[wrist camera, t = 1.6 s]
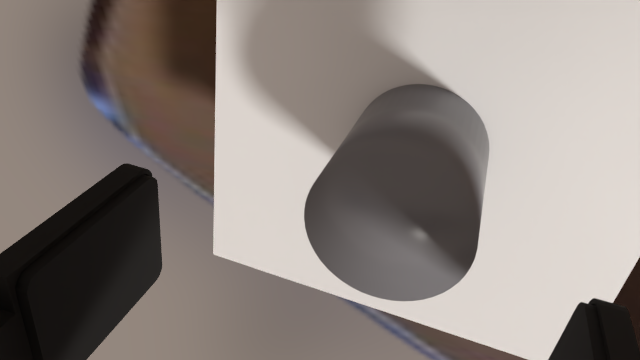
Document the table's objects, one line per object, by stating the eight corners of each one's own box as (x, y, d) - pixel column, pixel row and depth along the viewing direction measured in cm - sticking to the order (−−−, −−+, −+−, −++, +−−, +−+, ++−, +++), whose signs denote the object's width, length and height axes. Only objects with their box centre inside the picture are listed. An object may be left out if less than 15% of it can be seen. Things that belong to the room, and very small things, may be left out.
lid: (805, -65, 12) (992, -29, 7) (569, 353, 20) (584, 505, 15) (234, -148, 16) (100, -163, 11) (224, 241, 23) (144, 336, 19)
